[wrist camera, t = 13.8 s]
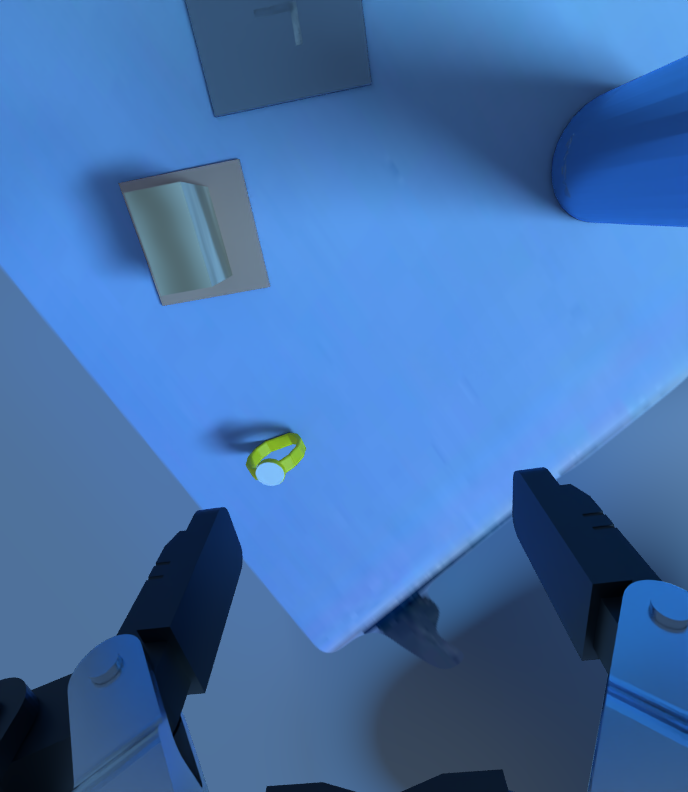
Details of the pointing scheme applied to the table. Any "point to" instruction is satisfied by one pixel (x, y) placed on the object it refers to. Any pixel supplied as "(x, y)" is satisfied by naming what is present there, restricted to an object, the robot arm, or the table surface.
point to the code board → (278, 50)
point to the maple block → (180, 236)
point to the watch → (273, 469)
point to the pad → (232, 222)
